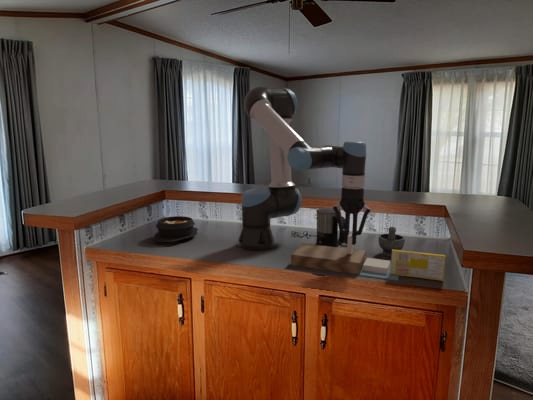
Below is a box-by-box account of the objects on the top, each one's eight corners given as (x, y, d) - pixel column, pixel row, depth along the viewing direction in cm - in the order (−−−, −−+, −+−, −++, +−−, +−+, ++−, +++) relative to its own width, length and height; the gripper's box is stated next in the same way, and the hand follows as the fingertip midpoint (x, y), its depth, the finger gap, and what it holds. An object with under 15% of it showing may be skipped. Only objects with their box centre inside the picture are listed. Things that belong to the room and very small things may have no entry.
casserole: (180, 248, 156) (179, 228, 155) (141, 244, 162) (140, 225, 160) (207, 232, 180) (206, 215, 178) (172, 229, 185) (171, 212, 184)
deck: (291, 265, 136) (291, 254, 135) (302, 253, 149) (302, 243, 148) (359, 274, 127) (359, 263, 127) (365, 261, 140) (365, 250, 139)
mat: (359, 275, 126) (359, 274, 126) (366, 260, 141) (366, 259, 141) (398, 280, 122) (398, 279, 122) (400, 264, 136) (401, 263, 136)
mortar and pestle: (378, 249, 154) (380, 220, 151) (403, 251, 151) (405, 221, 149) (377, 258, 143) (379, 227, 141) (403, 260, 140) (405, 229, 138)
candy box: (442, 279, 123) (445, 254, 121) (443, 281, 121) (446, 256, 119) (389, 272, 128) (392, 248, 126) (389, 274, 126) (392, 250, 124)
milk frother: (311, 246, 158) (312, 211, 155) (325, 236, 171) (326, 204, 168) (345, 251, 151) (346, 215, 148) (356, 241, 164) (358, 207, 161)
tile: (362, 270, 130) (363, 265, 129) (366, 263, 137) (367, 257, 136) (387, 274, 126) (387, 268, 126) (390, 266, 134) (390, 260, 133)
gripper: (331, 187, 129) (329, 253, 134) (371, 190, 124) (367, 258, 129) (336, 184, 136) (333, 247, 141) (373, 186, 131) (370, 251, 136)
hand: (349, 252), depth 135 cm, fingers closed
